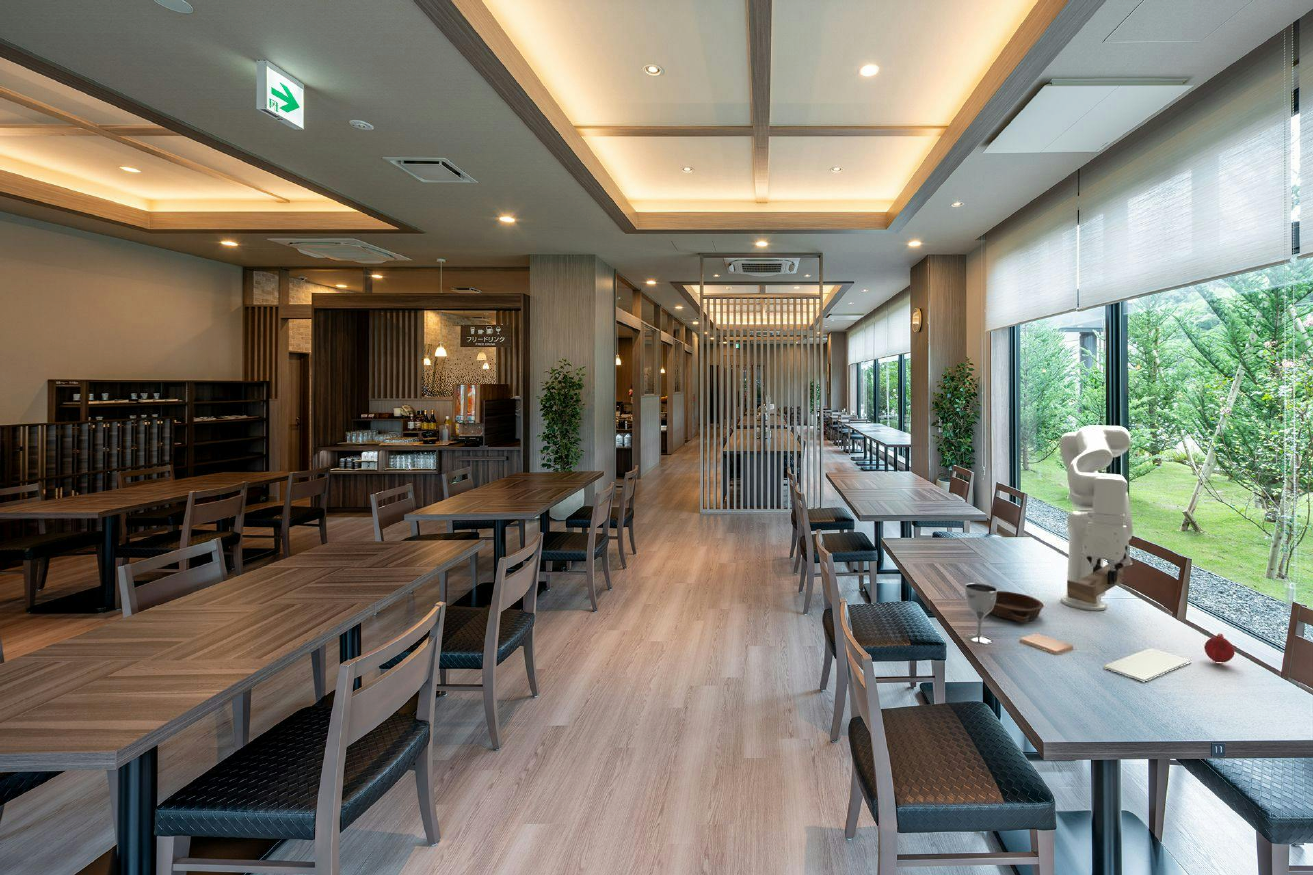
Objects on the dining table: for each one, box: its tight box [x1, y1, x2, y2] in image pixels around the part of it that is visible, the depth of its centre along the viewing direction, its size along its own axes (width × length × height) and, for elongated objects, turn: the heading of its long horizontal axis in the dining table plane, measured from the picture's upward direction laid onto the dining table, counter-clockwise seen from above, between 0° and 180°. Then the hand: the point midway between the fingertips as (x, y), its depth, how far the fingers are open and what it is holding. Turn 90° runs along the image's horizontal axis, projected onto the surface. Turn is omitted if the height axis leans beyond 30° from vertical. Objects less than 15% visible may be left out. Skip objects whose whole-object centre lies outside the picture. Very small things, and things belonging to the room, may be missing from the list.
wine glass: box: [964, 582, 998, 645], centre depth 178 cm, size 8×8×15 cm
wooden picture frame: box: [1019, 632, 1074, 655], centre depth 175 cm, size 1×10×8 cm
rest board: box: [1102, 647, 1192, 681], centre depth 162 cm, size 24×9×1 cm, turn 119°
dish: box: [989, 590, 1045, 623], centre depth 200 cm, size 18×22×5 cm
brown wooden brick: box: [1066, 562, 1124, 604], centre depth 181 cm, size 19×7×5 cm, turn 118°
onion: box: [1203, 632, 1235, 663], centre depth 163 cm, size 6×6×8 cm
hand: (1104, 581), depth 182 cm, fingers closed on brown wooden brick, 3 cm apart
